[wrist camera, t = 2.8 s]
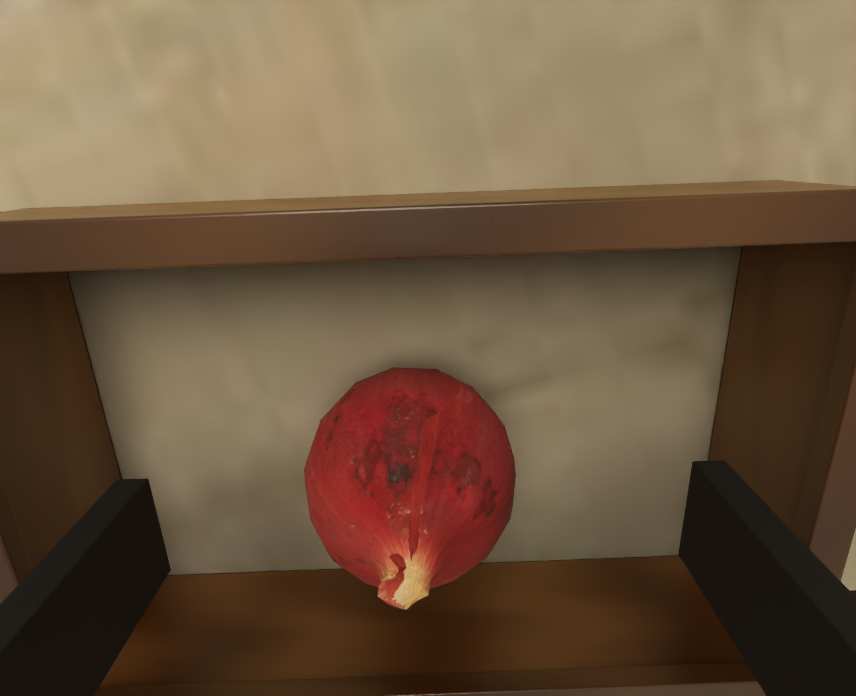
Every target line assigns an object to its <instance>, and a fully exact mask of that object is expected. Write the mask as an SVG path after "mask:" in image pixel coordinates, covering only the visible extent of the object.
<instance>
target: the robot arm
mask: <svg viewBox="0 0 856 696" xmlns="http://www.w3.org/2000/svg"><path fill="white" fill-rule="evenodd" d="M678 555H679V556H680V558H681V559H682V561H683V563H684V564H685V566H686V567H687V569H688V571H689V572H690V574H691V575H692V577H693V579H694V580H695V582H696V584H697V585H698V587H699V588H700V590H701V592H702V593H703V595H704V596H705V598H706V600H707V601H708V603H709V604H710V606H711V608H712V609H713V611H714V613H715V614H716V616H717V617H718V619H719V621H720V622H721V624H722V625H723V627H724V629H725V630H726V632H727V633H728V635H729V637H730V638H731V640H732V642H733V643H734V645H735V646H736V648H737V650H738V651H739V653H740V654H741V656H742V658H743V659H744V661H745V662H746V664H747V666H748V667H749V669H750V671H751V672H752V674H753V675H754V677H755V679H756V680H757V682H758V683H759V685H760V687H761V688H762V690H763V691H764V693H765V695H766V696H856V590H855V591H849V590H848V589H847V588H846V587H845V586H844V585H843V584H842V583H841V581H840V580H839V579H838V578H837V577H836V576H835V575H834V574H833V573H832V572H831V571H830V570H829V569H828V568H827V567H826V566H825V565H824V564H823V563H822V562H821V561H820V560H819V559H818V557H817V556H816V555H815V554H814V553H813V552H812V551H811V550H810V549H809V548H808V547H807V546H806V545H805V544H804V543H803V542H802V541H801V540H800V539H799V538H798V537H797V536H796V534H795V533H794V532H793V531H792V530H791V529H790V528H789V527H788V526H787V525H786V524H785V523H784V522H783V521H782V520H781V519H780V518H779V517H778V516H777V515H776V514H775V513H774V511H773V510H772V509H771V508H770V507H769V506H768V505H767V504H766V503H765V502H764V501H763V500H762V499H761V498H760V497H759V496H758V495H757V494H756V493H755V492H754V491H753V490H752V488H751V487H750V486H749V485H748V484H747V483H746V482H745V481H744V480H743V479H742V478H741V477H740V476H739V475H738V474H737V473H736V472H735V471H734V470H733V469H732V468H731V467H730V465H729V464H728V463H727V462H726V461H694V462H693V463H692V469H691V476H690V482H689V489H688V495H687V502H686V508H685V515H684V522H683V528H682V535H681V541H680V548H679V554H678ZM170 570H171V569H170V565H169V561H168V557H167V553H166V549H165V545H164V541H163V537H162V533H161V529H160V525H159V521H158V517H157V513H156V509H155V504H154V500H153V496H152V492H151V488H150V484H149V480H148V479H124V480H116V481H115V482H114V483H113V484H112V485H111V486H110V487H109V488H108V490H107V491H106V492H105V493H104V494H103V495H102V496H101V497H100V498H99V499H98V500H97V501H96V502H95V503H94V504H93V505H92V507H91V508H90V509H89V510H88V511H87V512H86V513H85V514H84V515H83V516H82V517H81V518H80V519H79V520H78V521H77V523H76V524H75V525H74V526H73V527H72V528H71V529H70V530H69V531H68V532H67V533H66V534H65V535H64V536H63V537H62V539H61V540H60V541H59V542H58V543H57V544H56V545H55V546H54V547H53V548H52V549H51V550H50V551H49V552H48V553H47V555H46V556H45V557H44V558H43V559H42V560H41V561H40V562H39V563H38V564H37V565H36V566H35V567H34V568H33V569H32V571H31V572H30V573H29V574H28V575H27V576H26V577H25V578H24V579H23V580H22V581H21V582H20V583H19V584H18V585H17V587H16V588H15V589H14V590H13V591H12V592H11V593H10V594H9V595H8V596H7V597H6V598H5V599H4V600H3V601H2V602H1V604H0V696H94V695H95V693H96V691H97V690H98V688H99V686H100V685H101V683H102V682H103V680H104V678H105V677H106V675H107V673H108V672H109V670H110V668H111V667H112V665H113V663H114V662H115V660H116V659H117V657H118V655H119V654H120V652H121V650H122V649H123V647H124V645H125V644H126V642H127V641H128V639H129V637H130V636H131V634H132V632H133V631H134V629H135V627H136V626H137V624H138V622H139V621H140V619H141V618H142V616H143V614H144V613H145V611H146V609H147V608H148V606H149V604H150V603H151V601H152V599H153V598H154V596H155V595H156V593H157V591H158V590H159V588H160V586H161V585H162V583H163V581H164V580H165V578H166V576H167V575H168V573H169V572H170Z"/></svg>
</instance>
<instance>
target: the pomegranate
mask: <svg viewBox="0 0 856 696" xmlns="http://www.w3.org/2000/svg"><path fill="white" fill-rule="evenodd" d="M304 472H305V485H306V492H307V499H308V505H309V512H310V519H311V522H312V524H313V526H314V528H315V530H316V532H317V533H318V535H319V537H320V539H321V541H322V542H323V544H324V546H325V548H326V550H327V552H328V553H329V555H330V556H331V558H332V559H333V561H334V562H336V563H337V564H338V565H340V566H341V567H343V568H344V569H345V570H347V571H348V572H350V573H351V574H353V575H354V576H356V577H357V578H359V579H360V580H362V581H363V582H364V583H366V584H369V585H373V586H376V587H378V597H379V598H381V599H382V600H383V601H385V602H386V603H387V604H389V605H392V606H394V607H397V608H401V609H405V610H406V609H408V608H409V607H410V606H411V605H412V604H413V603H415V602H416V601H418V600H420V599H422V598H424V597H426V596H428V595H429V589H431V588H434V587H437V586H440V585H443V584H446V583H449V582H452V581H454V580H456V579H457V578H459V577H460V576H462V575H463V574H465V573H466V572H468V571H469V570H471V569H472V568H474V567H475V566H477V565H478V564H479V563H481V562H482V561H483V560H484V559H485V558H486V557H487V556H488V555H489V553H490V551H491V550H492V548H493V547H494V545H495V543H496V542H497V540H498V538H499V537H500V535H501V533H502V532H503V530H504V528H505V527H506V525H507V523H508V522H509V520H510V516H511V511H512V506H513V496H514V486H515V476H516V473H515V463H514V457H513V453H512V450H511V447H510V443H509V440H508V436H507V433H506V430H505V426H504V425H503V423H502V422H501V421H500V419H499V418H498V416H497V415H496V414H495V412H494V411H493V410H492V409H491V408H490V407H489V406H488V404H487V403H486V402H485V401H484V400H483V399H482V398H481V396H480V395H479V394H478V393H477V392H476V391H475V390H474V388H473V387H471V386H469V385H467V384H465V383H463V382H461V381H459V380H457V379H455V378H453V377H451V376H449V375H447V374H445V373H443V372H441V371H439V370H437V369H418V368H391V369H389V370H386V371H384V372H381V373H379V374H376V375H374V376H371V377H369V378H367V379H364V380H362V381H359V382H357V383H355V384H354V385H353V386H352V387H351V388H350V389H349V391H348V392H347V393H346V394H345V395H344V396H343V397H342V398H341V399H340V400H339V401H338V402H337V403H336V404H335V406H334V407H333V408H332V409H331V410H330V411H329V412H328V413H327V414H326V415H325V416H324V417H323V418H322V420H321V421H320V424H319V427H318V430H317V432H316V435H315V438H314V441H313V444H312V447H311V450H310V452H309V456H308V459H307V462H306V466H305V469H304Z"/></svg>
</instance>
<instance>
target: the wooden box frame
mask: <svg viewBox="0 0 856 696" xmlns="http://www.w3.org/2000/svg"><path fill="white" fill-rule="evenodd" d="M738 246H743V251H742V257H741V263H740V269H739V276H738V282H737V288H736V294H735V300H734V307H733V313H732V319H731V325H730V331H729V337H728V344H727V350H726V356H725V362H724V368H723V374H722V381H721V387H720V393H719V399H718V405H717V412H716V418H715V424H714V430H713V436H712V442H711V449H710V455H709V461H726V462H727V463H728V464H729V465H730V467H731V468H732V469H733V470H734V471H735V472H736V473H737V474H738V475H739V476H740V477H741V478H742V479H743V480H744V481H745V482H746V483H747V484H748V485H749V486H750V487H751V488H752V490H753V491H754V492H755V493H756V494H757V495H758V496H759V497H760V498H761V499H762V500H763V501H764V502H765V503H766V504H767V505H768V506H769V507H770V508H771V509H772V510H773V511H774V513H775V514H776V515H777V516H778V517H779V518H780V519H781V520H782V521H783V522H784V523H785V524H786V525H787V526H788V527H789V528H790V529H791V530H792V531H793V532H794V533H795V534H796V536H797V537H798V538H799V539H800V540H801V541H802V542H803V543H804V544H805V545H806V546H807V547H808V548H809V549H810V550H811V551H812V552H813V553H814V554H815V555H816V556H817V557H818V559H819V560H820V561H821V562H822V563H823V564H824V565H825V566H826V567H827V568H828V569H829V570H830V571H831V572H832V573H833V574H834V575H835V576H836V577H837V578H838V579H839V580H840V581H841V578H842V575H843V571H844V567H845V564H846V560H847V557H848V553H849V550H850V546H851V543H852V539H853V535H854V532H855V528H856V186H844V185H831V184H819V183H806V182H794V181H782V180H770V181H744V182H717V183H691V184H664V185H638V186H611V187H584V188H558V189H531V190H505V191H478V192H452V193H425V194H398V195H372V196H345V197H319V198H292V199H266V200H239V201H213V202H186V203H159V204H133V205H106V206H80V207H53V208H27V209H18V210H11V211H4V212H0V604H1V602H2V601H3V600H4V599H5V598H6V597H7V596H8V595H9V594H10V593H11V592H12V591H13V590H14V589H15V588H16V587H17V585H18V584H19V583H20V582H21V581H22V580H23V579H24V578H25V577H26V576H27V575H28V574H29V573H30V572H31V571H32V569H33V568H34V567H35V566H36V565H37V564H38V563H39V562H40V561H41V560H42V559H43V558H44V557H45V556H46V555H47V553H48V552H49V551H50V550H51V549H52V548H53V547H54V546H55V545H56V544H57V543H58V542H59V541H60V540H61V539H62V537H63V536H64V535H65V534H66V533H67V532H68V531H69V530H70V529H71V528H72V527H73V526H74V525H75V524H76V523H77V521H78V520H79V519H80V518H81V517H82V516H83V515H84V514H85V513H86V512H87V511H88V510H89V509H90V508H91V507H92V505H93V504H94V503H95V502H96V501H97V500H98V499H99V498H100V497H101V496H102V495H103V494H104V493H105V492H106V491H107V490H108V488H109V487H110V486H111V485H112V484H113V483H114V482H115V481H116V480H121V478H120V474H119V470H118V466H117V462H116V459H115V455H114V451H113V447H112V444H111V440H110V436H109V432H108V429H107V425H106V421H105V417H104V414H103V410H102V406H101V402H100V399H99V395H98V391H97V387H96V383H95V380H94V376H93V372H92V368H91V365H90V361H89V357H88V353H87V350H86V346H85V342H84V338H83V335H82V331H81V327H80V323H79V319H78V316H77V312H76V308H75V304H74V301H73V297H72V293H71V289H70V286H69V282H68V278H67V274H66V272H78V271H104V270H130V269H157V268H183V267H210V266H236V265H263V264H289V263H315V262H342V261H368V260H395V259H421V258H448V257H474V256H500V255H527V254H553V253H580V252H606V251H632V250H659V249H685V248H712V247H738ZM94 696H766V695H765V693H764V691H763V690H762V688H761V687H760V685H759V683H758V682H757V680H756V679H755V677H754V675H753V674H752V672H751V671H750V669H749V667H748V666H747V664H746V662H745V661H744V659H743V658H742V656H741V654H740V653H739V651H738V650H737V648H736V646H735V645H734V643H733V642H732V640H731V638H730V637H729V635H728V633H727V632H726V630H725V629H724V627H723V625H722V624H721V622H720V621H719V619H718V617H717V616H716V614H715V613H714V611H713V609H712V608H711V606H710V604H709V603H708V601H707V600H706V598H705V596H704V595H703V593H702V592H701V590H700V588H699V587H698V585H697V584H696V582H695V580H694V579H693V577H692V575H691V574H690V572H689V571H688V569H687V567H686V566H685V564H684V563H683V561H682V559H681V558H680V556H663V557H638V558H612V559H586V560H560V561H534V562H509V563H483V564H478V565H477V566H475V567H474V568H472V569H471V570H469V571H468V572H466V573H465V574H463V575H462V576H460V577H459V578H457V579H456V580H454V581H452V582H449V583H446V584H443V585H440V586H437V587H434V588H431V589H429V595H428V596H426V597H424V598H422V599H420V600H418V601H416V602H415V603H413V604H412V605H411V606H410V607H409V608H408V609H406V610H405V609H401V608H397V607H394V606H392V605H389V604H387V603H386V602H385V601H383V600H382V599H381V598H379V597H378V587H376V586H373V585H369V584H366V583H364V582H363V581H362V580H360V579H359V578H357V577H356V576H354V575H353V574H351V573H350V572H348V571H347V570H345V569H328V570H302V571H277V572H251V573H225V574H199V575H173V576H166V578H165V580H164V581H163V583H162V585H161V586H160V588H159V590H158V591H157V593H156V595H155V596H154V598H153V599H152V601H151V603H150V604H149V606H148V608H147V609H146V611H145V613H144V614H143V616H142V618H141V619H140V621H139V622H138V624H137V626H136V627H135V629H134V631H133V632H132V634H131V636H130V637H129V639H128V641H127V642H126V644H125V645H124V647H123V649H122V650H121V652H120V654H119V655H118V657H117V659H116V660H115V662H114V663H113V665H112V667H111V668H110V670H109V672H108V673H107V675H106V677H105V678H104V680H103V682H102V683H101V685H100V686H99V688H98V690H97V691H96V693H95V695H94Z"/></svg>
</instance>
